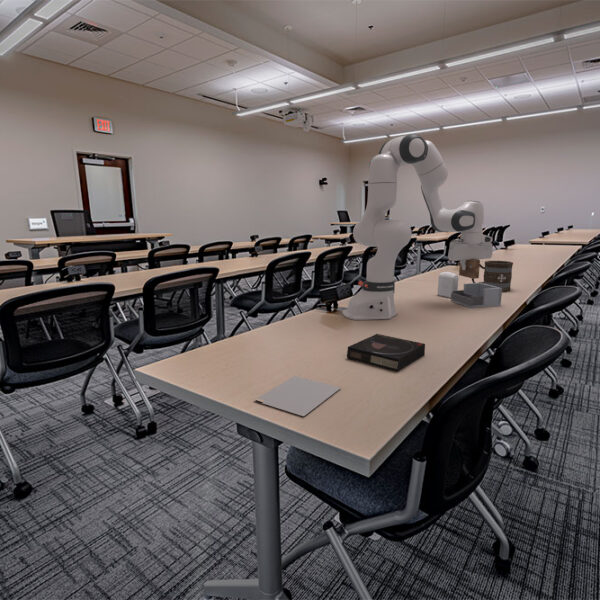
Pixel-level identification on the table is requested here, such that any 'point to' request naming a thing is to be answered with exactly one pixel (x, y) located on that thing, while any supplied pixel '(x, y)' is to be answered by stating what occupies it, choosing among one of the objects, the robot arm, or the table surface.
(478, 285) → the cabinet
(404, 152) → the robot arm
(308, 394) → the paper stack
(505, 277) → the mug
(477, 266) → the brown rectangular block
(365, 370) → the table surface
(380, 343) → the portable cd player
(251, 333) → the table surface
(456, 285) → the photo printer
